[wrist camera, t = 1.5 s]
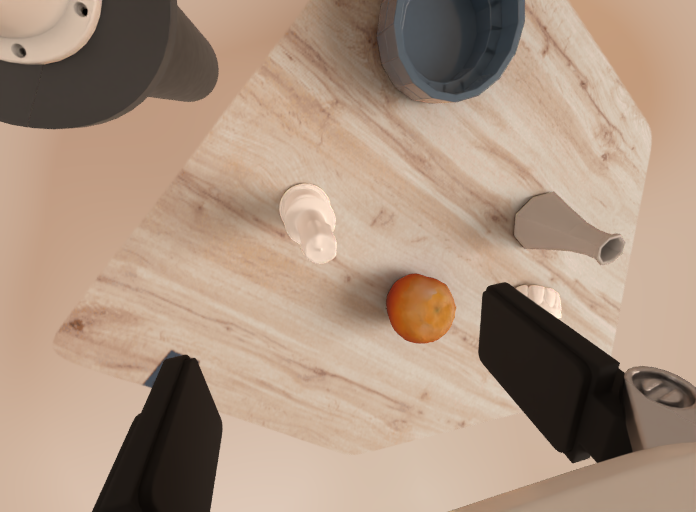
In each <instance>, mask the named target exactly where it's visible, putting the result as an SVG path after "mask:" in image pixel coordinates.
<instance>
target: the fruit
mask: <svg viewBox="0 0 696 512" xmlns="http://www.w3.org/2000/svg"><path fill="white" fill-rule="evenodd" d="M386 306H387V308H386V309H387V313H388V316H389V319H390V322H391V325H392V327H393V328H394V330H395V331H396V332H397V333H398V334H399V335H400V336H401V337H403V338H404V339H405V340H407V341H409V342H413V343H429V342H434V341H435V340H438V339H439V338H441V337H442V336H443V335H445V334H446V332H447V331H448V330H449V328H450V327H451V325H452V322H453V320H454V318H455V310H456V306H455V303H454V299H453V297H452V294H451V292H450V290H449V289H448V287H447V285H446V284H444V283H442V282H440V281H439V280H437V279H434V278H430V277H426V276H423V275H420V274H409V275H407V276H405V277H403V278H401V279H399V280H397V281H396V282H395V283H394V284H393V286H392V288H391V290H390V291H389V293H388V295H387V299H386Z"/></svg>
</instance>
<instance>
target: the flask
mask: <svg viewBox="0 0 696 512" xmlns="http://www.w3.org/2000/svg"><path fill="white" fill-rule="evenodd" d="M514 236H515V237H516V238H517V240H518V241H519V242H520V243H521V244H522V246H523V247H524V248H525V249H547V250H561V251H572V252H576V253H580V254H585V255H588V256H590V257H592V258H595V259H596V260H597V262H598V263H599V264H600V265H605V264H609V263H612V262H614V261H615V260H616V259H617V258H618V257H619V256H620V255H622V254H623V250H624V246H625V241H624V239H623V237H622V235H621V234H612V235H611V234H608V233H605V232H603V231H600V230H599V229H597V228H595V227H594V226H592V225H590V224H589V223H587V222H586V221H585V220H584V219H583V218H581V217H580V216H579V215H578V214H577V213H576V212H575V211H574V210H572V209H571V208H570V207H569V206H568V205H567V204H566V203H565V202H564V201H563V200H562V199H561V198H560V197H559V196H558V195H557V194H556V193H555V192H551V193H547V194H543V195H539V196H535V197H533V198H532V199H531V200H530V201H529V202H528V203H527V204H526V205H525V206H524V207H523V208H522V209H521V210H520V211H519V212H518V213H517V214H516V215H515V231H514Z"/></svg>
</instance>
